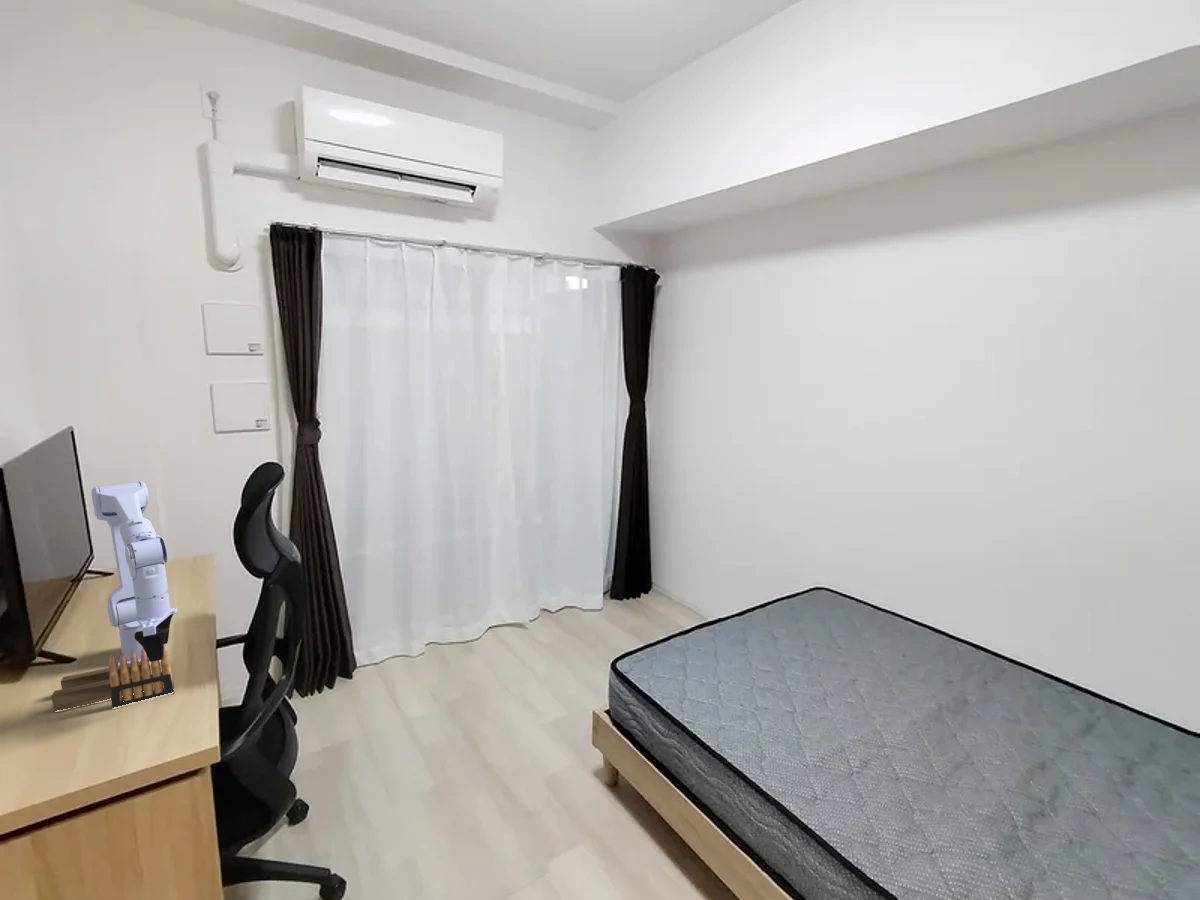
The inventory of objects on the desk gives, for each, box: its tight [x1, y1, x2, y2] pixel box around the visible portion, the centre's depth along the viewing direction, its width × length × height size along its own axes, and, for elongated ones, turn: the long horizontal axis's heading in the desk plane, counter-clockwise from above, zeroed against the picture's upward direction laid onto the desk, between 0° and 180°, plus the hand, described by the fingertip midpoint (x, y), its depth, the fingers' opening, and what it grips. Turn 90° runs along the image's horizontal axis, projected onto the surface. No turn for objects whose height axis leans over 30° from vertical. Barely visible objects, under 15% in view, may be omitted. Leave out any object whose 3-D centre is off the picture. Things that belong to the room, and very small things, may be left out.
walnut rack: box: [51, 660, 150, 712], centre depth 127 cm, size 8×15×4 cm, turn 120°
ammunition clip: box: [108, 644, 175, 709], centre depth 124 cm, size 11×2×12 cm, turn 122°
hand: (159, 651), depth 125 cm, fingers open, 7 cm apart
